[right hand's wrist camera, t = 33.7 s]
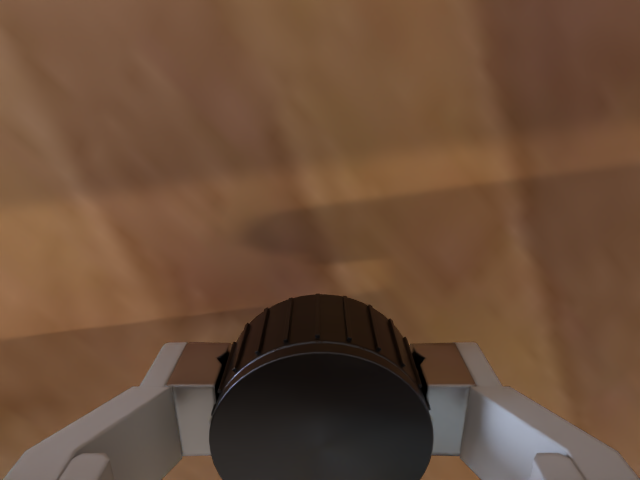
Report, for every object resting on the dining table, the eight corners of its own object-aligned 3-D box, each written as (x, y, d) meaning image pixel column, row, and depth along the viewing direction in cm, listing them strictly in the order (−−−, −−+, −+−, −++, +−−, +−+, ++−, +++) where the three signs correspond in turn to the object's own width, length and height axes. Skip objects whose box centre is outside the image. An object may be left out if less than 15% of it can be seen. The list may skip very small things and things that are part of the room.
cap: (201, 408, 11) (173, 486, 9) (272, 259, 9) (259, 311, 7) (360, 465, 11) (369, 551, 9) (448, 335, 10) (481, 402, 8)
